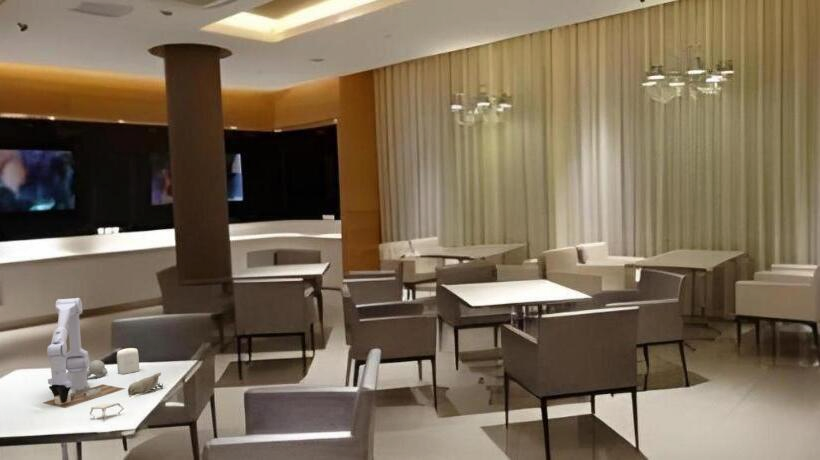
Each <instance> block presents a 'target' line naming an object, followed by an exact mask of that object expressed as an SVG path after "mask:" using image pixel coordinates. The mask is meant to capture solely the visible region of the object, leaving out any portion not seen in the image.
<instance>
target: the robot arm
mask: <svg viewBox="0 0 820 460" xmlns="http://www.w3.org/2000/svg"><path fill="white" fill-rule="evenodd" d="M54 307H55V311H56V313H57V315H58V319H57V320H58V321H57V328H55V329H54V330H53V333H52V337H51V342H50V345H48V346H47V350H46V351H47V352H46V354H47V357H48V362H50V371H51V372H50V373H51V378H48V379H47V384H48V385H50V386H48V389H50V391H51V393H52V395H53V399H55V396H57V395H60V400H61V403H64V402H67V397H68V394H70V393H69V392H70V390H75V389H78V388H82V387H85V386H89V383H88V378H87V368H89V366H90V363H91V359H90V356H89V355H90V354H89V351H88V350H85V349H84V348H82V337H81V327H80V326H81V324H80V315H82V314H83V311H84V310H83V301H82V300H81V298H80V297H75V298H64V299H63V298H57V300H56V301H55V306H54ZM67 327H68V330H67ZM68 339H69V340H68ZM67 340H68V341H69V342H68V343H69V351H68V349H67V347H68V344H67ZM67 351H68V352H67Z"/></svg>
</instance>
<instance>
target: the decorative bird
mask: <svg viewBox="0 0 820 460" xmlns="http://www.w3.org/2000/svg"><path fill="white" fill-rule="evenodd" d="M161 375H162V372H161V371H160V372H157V373H154V374H153V375H151V376H148V377H145V378H142V379H139V380H138V381H134V382H132V383H131V384H130V385H129V386H128V389H127V392H128V397H129V398H131V397H132V396H133V395H134V394H136V393H138V394H145V393H146V392H149V391H151V390H153V389H154V388H156V386H157V388H160V389H163V387H164V384H163V383H162V384H161V383H160V382H161V381H159V377H160V376H161Z"/></svg>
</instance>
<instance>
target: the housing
mask: <svg viewBox="0 0 820 460" xmlns="http://www.w3.org/2000/svg"><path fill="white" fill-rule="evenodd" d="M90 388H91V386H90V385H88V386H85V387H82V388H78V389H72V393H73V394H74V396H79V395H82V394H83V398H86V399H87V398H90V397H93V396H97V395H100V394H101V389H100V388H95V389H92V390H91V389H90Z"/></svg>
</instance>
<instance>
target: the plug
mask: <svg viewBox="0 0 820 460" xmlns="http://www.w3.org/2000/svg"><path fill="white" fill-rule="evenodd" d="M53 399H54V400H55V404H59V405H61V404H64V403H67V402H70V401H71V399H74V394H73V392H71V393H68V397H67V402H64V403H61V400H60V395H57V396H55V398H53Z"/></svg>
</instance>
